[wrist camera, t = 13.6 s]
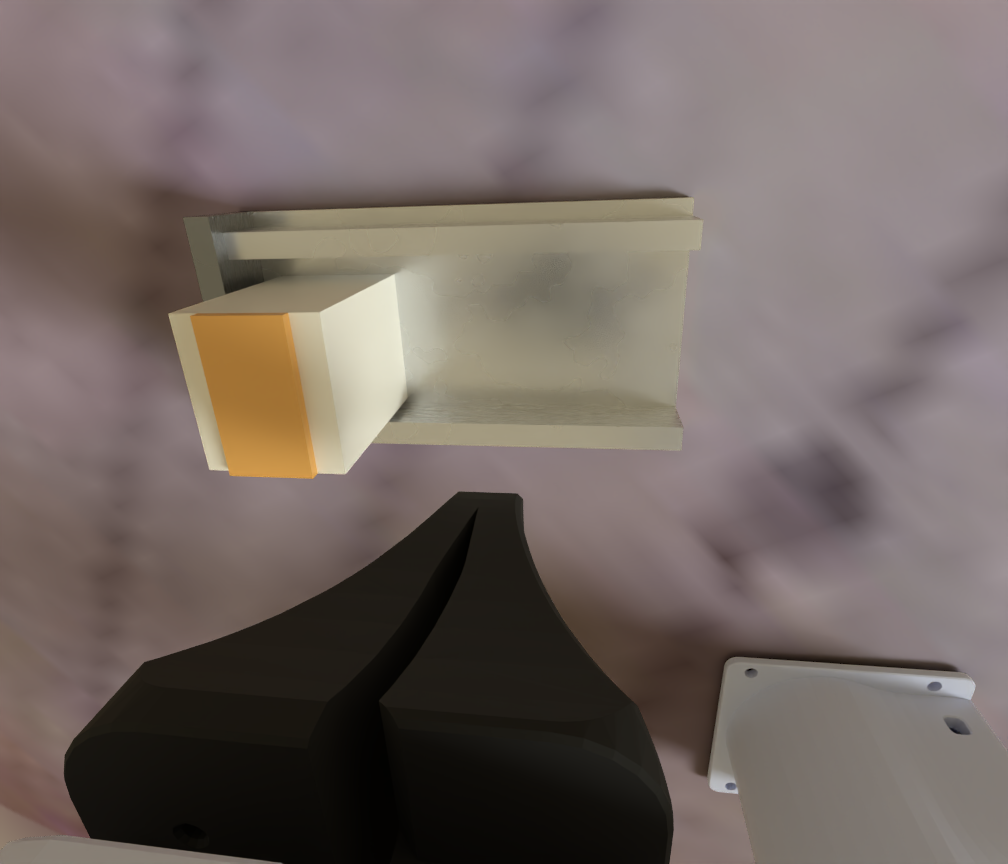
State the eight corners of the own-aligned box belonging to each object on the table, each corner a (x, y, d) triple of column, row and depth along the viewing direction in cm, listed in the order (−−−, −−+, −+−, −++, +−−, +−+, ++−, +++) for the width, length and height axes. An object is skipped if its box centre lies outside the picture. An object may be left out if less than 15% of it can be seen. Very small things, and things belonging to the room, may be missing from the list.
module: (394, 274, 19) (314, 315, 14) (407, 397, 21) (341, 479, 16) (282, 275, 20) (159, 316, 14) (304, 396, 22) (203, 475, 16)
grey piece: (691, 196, 18) (709, 201, 15) (670, 434, 21) (682, 473, 18) (238, 211, 20) (183, 217, 17) (282, 426, 23) (241, 460, 20)
